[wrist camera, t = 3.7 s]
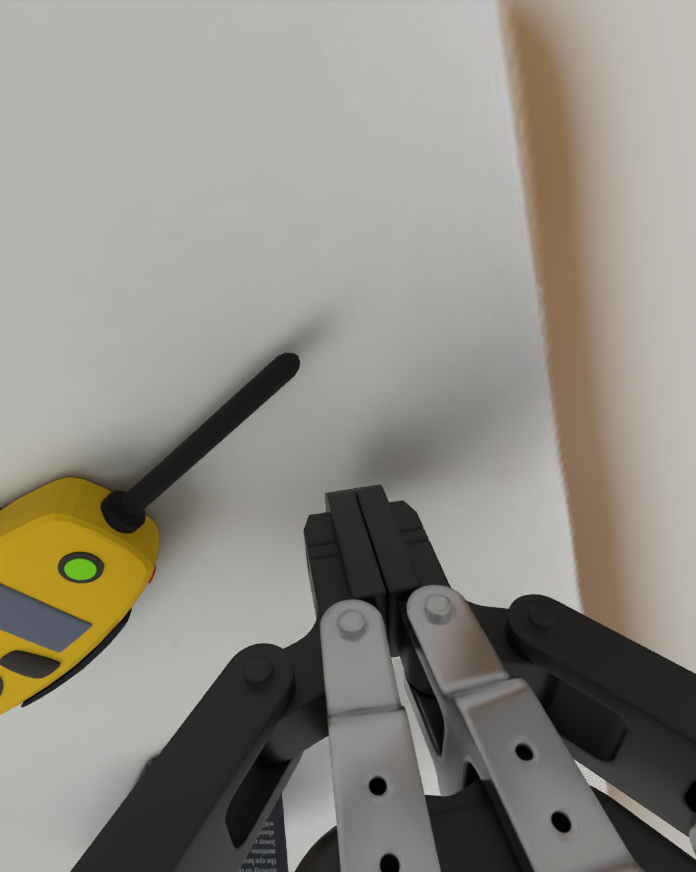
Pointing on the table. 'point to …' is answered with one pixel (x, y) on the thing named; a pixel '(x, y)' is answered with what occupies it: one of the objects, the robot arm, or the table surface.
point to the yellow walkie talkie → (91, 556)
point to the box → (264, 842)
